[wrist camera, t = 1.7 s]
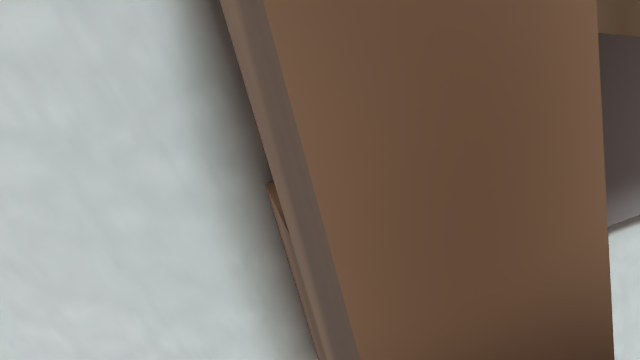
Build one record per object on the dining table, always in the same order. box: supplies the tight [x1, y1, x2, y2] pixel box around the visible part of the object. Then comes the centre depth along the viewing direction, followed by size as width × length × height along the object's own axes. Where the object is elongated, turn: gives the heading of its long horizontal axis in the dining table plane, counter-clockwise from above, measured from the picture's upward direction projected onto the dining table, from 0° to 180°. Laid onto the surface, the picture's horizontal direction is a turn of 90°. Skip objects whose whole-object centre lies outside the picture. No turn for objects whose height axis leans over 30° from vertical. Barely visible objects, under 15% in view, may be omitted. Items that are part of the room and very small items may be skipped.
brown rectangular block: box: [220, 0, 614, 360], centre depth 7 cm, size 2×12×6 cm, turn 14°
